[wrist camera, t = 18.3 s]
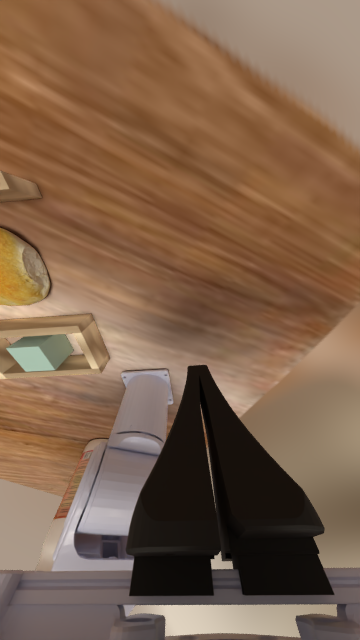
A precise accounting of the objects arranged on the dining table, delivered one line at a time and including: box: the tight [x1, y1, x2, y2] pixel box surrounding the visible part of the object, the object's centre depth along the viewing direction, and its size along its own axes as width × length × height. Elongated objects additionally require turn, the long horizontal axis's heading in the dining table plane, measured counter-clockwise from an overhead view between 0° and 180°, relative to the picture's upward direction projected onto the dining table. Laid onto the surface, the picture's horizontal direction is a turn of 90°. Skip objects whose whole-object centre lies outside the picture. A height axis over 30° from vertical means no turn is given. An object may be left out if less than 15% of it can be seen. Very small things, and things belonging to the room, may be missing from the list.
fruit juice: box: [35, 439, 108, 571], centre depth 27 cm, size 9×9×28 cm
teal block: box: [6, 334, 74, 372], centre depth 20 cm, size 4×4×4 cm
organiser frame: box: [0, 171, 110, 379], centre depth 17 cm, size 21×15×3 cm
